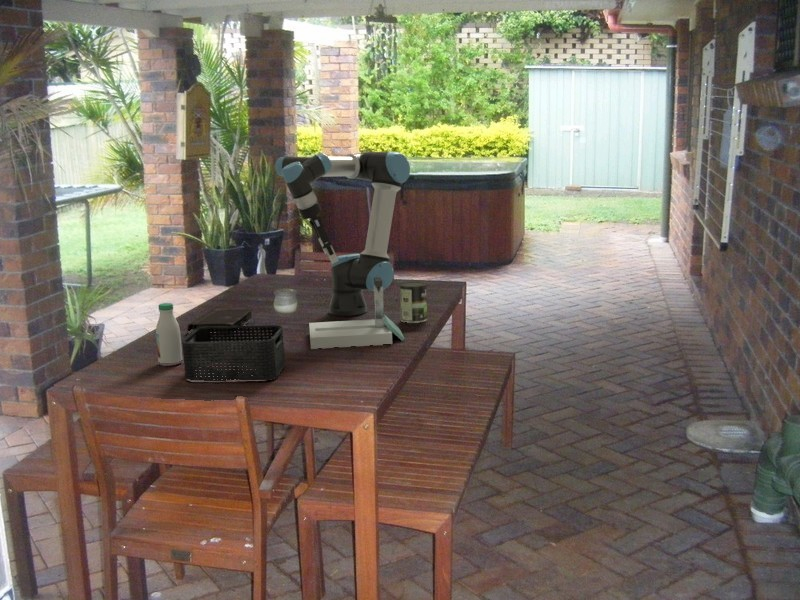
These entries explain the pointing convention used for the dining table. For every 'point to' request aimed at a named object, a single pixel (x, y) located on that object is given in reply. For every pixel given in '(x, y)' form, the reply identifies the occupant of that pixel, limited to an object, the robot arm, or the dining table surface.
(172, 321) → the milk bottle
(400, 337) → the cover
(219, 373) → the storage bin
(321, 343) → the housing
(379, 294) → the t key
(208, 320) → the diary
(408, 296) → the coffee can
